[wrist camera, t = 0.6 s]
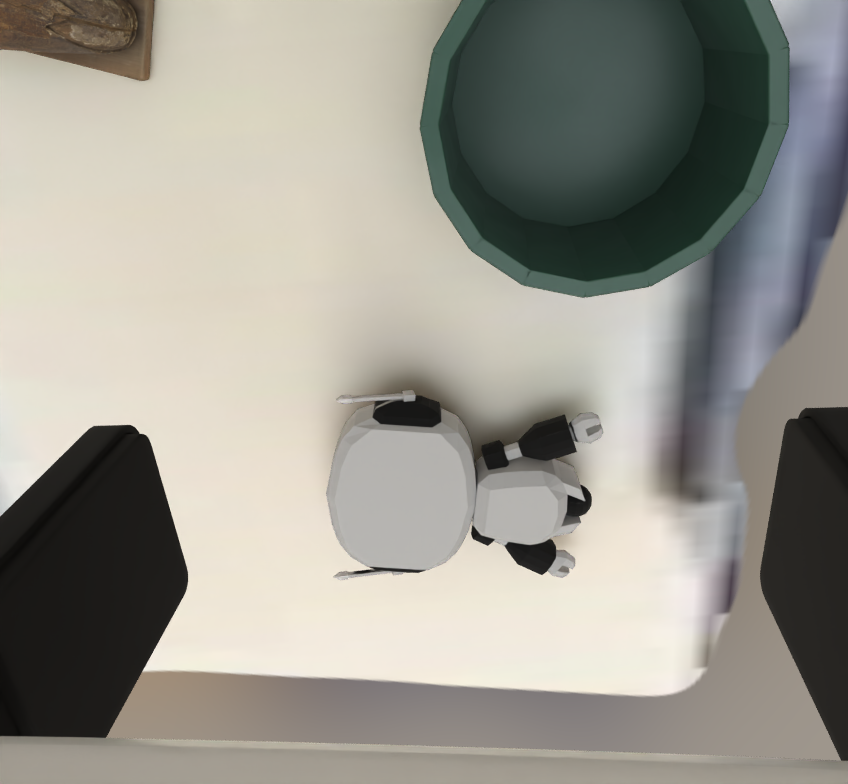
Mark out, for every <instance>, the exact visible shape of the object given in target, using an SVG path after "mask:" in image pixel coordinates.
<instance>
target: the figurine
mask: <svg viewBox="0 0 848 784" xmlns="http://www.w3.org/2000/svg"><path fill="white" fill-rule="evenodd" d="M153 11H154V0H0V49H4V50H17V51H26V52H30V53H34V54H38V55H42V56H45V57H49V58H53V59H57V60H61V61H66V62H69V63H73V64H77V65H81V66H85V67H89V68H93V69H97V70H101V71H105V72H109V73H113V74H117V75H121V76H125V77H129V78H133V79H136V80H140V81H145V80H148V79H149V74H150V59H151V42H152V27H153Z"/></svg>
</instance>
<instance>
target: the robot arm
mask: <svg viewBox="0 0 848 784" xmlns="http://www.w3.org/2000/svg"><path fill="white" fill-rule="evenodd" d="M760 580H761V587H762V591H763V594H764V597H765V599H766V601H767V603H768V605H769V608H770V610H771V612H772V614H773V616H774V618H775V620H776V623H777V625H778V627H779V629H780V631H781V633H782V635H783V637H784V640H785V642H786V644H787V646H788V648H789V650H790V652H791V655H792V657H793V659H794V661H795V663H796V665H797V667H798V669H799V671H800V674H801V676H802V678H803V680H804V682H805V684H806V686H807V689H808V691H809V693H810V695H811V697H812V699H813V701H814V703H815V705H816V708H817V710H818V712H819V714H820V716H821V718H822V720H823V722H824V725H825V727H826V729H827V731H828V733H829V735H830V737H831V740H832V742H833V744H834V746H835V748H836V750H837V752H838V754H839V757H840V759H841V761H836V760H835V761H834V760H811V759H789V758H767V757H749V756H719V755H690V754H689V755H688V754H661V753H629V752H602V751H573V750H543V749H513V748H512V749H511V748H478V747H444V746H408V745H375V744H339V743H302V742H266V741H222V740H221V741H220V740H178V739H175V740H174V739H173V740H172V739H133V738H129V739H128V738H106V737H107V735H108V733H109V731H110V729H111V727H112V726H113V724H114V722H115V720H116V718H117V716H118V715H119V713H120V711H121V709H122V707H123V706H124V703H125V702H126V700H127V698H128V696H129V694H130V693H131V691H132V689H133V687H134V685H135V684H136V682H137V680H138V678H139V676H140V675H141V673H142V671H143V669H144V667H145V666H146V664H147V662H148V660H149V658H150V656H151V655H152V653H153V651H154V649H155V647H156V646H157V644H158V642H159V640H160V638H161V636H162V635H163V633H164V631H165V629H166V627H167V625H168V624H169V622H170V620H171V618H172V616H173V615H174V613H175V611H176V609H177V607H178V605H179V604H180V602H181V600H182V598H183V596H184V594H185V592H186V589H187V584H188V571H187V567H186V563H185V560H184V556H183V553H182V549H181V546H180V543H179V539H178V536H177V532H176V529H175V525H174V522H173V518H172V515H171V512H170V508H169V505H168V501H167V498H166V494H165V491H164V487H163V484H162V480H161V477H160V474H159V470H158V467H157V463H156V460H155V456H154V453H153V449H152V446H151V443H150V440H149V439H148V437H147V436H146V435H144V434H139V432H138V430H137V429H136V428H135V427H133V426H132V425H113V426H93V427H92V428H90V429H89V430H88V431H87V432H85V433H84V434H83V435H82V436H81V437H80V438H79V439H78V440H77V441H76V442H75V443H74V444H73V445H72V446H71V447H70V448H69V449H68V450H67V451H66V452H65V453H64V454H63V455H62V456H61V457H60V458H59V459H58V460H57V461H56V462H55V463H54V464H53V465H52V466H51V467H50V468H49V469H48V470H47V471H46V472H45V473H44V474H43V475H42V476H41V477H40V478H39V479H38V480H37V481H36V482H35V483H34V484H33V485H32V486H31V487H30V488H29V489H28V490H27V491H26V492H25V493H24V494H23V495H22V496H21V497H20V498H19V499H18V500H17V501H16V502H15V503H14V504H13V505H12V506H11V507H10V508H9V509H8V510H6V511H5V512H4V513H3V514H2V515H1V516H0V784H848V407H836V408H805V409H804V410H803V411H802V412H801V413H800V415H799V418H798V419H790V420H788V421H787V423H786V426H785V429H784V435H783V441H782V446H781V453H780V458H779V464H778V470H777V476H776V482H775V488H774V493H773V499H772V505H771V511H770V517H769V523H768V528H767V534H766V540H765V546H764V552H763V558H762V564H761V571H760Z"/></svg>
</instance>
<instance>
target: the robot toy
mask: <svg viewBox="0 0 848 784" xmlns="http://www.w3.org/2000/svg"><path fill="white" fill-rule="evenodd" d="M336 401H338V402H340V403H342V404H348V403H352V402H362V401H376V402H375V404H372V405H369V406H366V407H363V408H360V409H357V410H356V411H355V412H354V414H353V415H352V416H351V417H350V418H349V419H348V420H347V421H346V423H345V425H344V427H343V429H342V431H341V434H340V437H339V439H338V442H337V445H336V449H335V454H334V458H333V462H332V467H331V472H330V477H329V482H328V487H327V492H326V494H327V500H328V505H329V510H330V516H331V521H332V525H333V528H334V531H335V534H336V537H337V539H338V541H339V543H340V545H341V546H342V547H343V548H344V550H345V551H346V552H347V553H348V554H349V555H350V557H352V558H353V559H355V560H357V561H359V562H360V563H362V564H364V565H365V566H368V567H370V568H372V569H371V570H362V571H354V572H347V571H344V572H339V573H337V574H336V575H335V576H334V577H335V578H337V579H339V580H345V579H348V578H352V577H360V576H368V575H377V574H385V573H393V575H398V574H403V572H406V573H419V572H422V571H425V570H429V569H432V568H434V567H436V566H439V565H441V564H443V563H445V562H446V561H447V560H449V559H450V558H451V557H452V556H453V555H454V554H455V553H456V552H457V551H458V549H459V548H460V546H461V545H462V543H463V541H464V539H465V537H466V535H467V533H468V530H469V527H470V524H471V521H472V518H473V526H472V532H471V535H472V538H473V539H474V540H476V541H479V542H481V543H483V544H485V545H487V546H488V545H489V544H491V543H492V542H493V541H495V542H497V543H499V544H502V545H504V546H505V548H506V549H507V551H508V552H509V553H510V555H511V556H512V557H513V559H514V560H515V561H516V563H517V564H519V565H521V566H523V567H525V568H527V569H530V570H532V571H534V572H536V573H538V574H541V575H543V574H544V573H545V572H547V571H548V572H549V573H550V574H551V575H552V576H556V577H561V578H563V577H565V576H567V575H568V574H569V568H571V569H573V568H574V566H575V558H574V557H573V556H572V555H570V554H569V553H568V552H566V551H565V550H556V546H555V544H554V542H553V541H552V540H550V538H552V537H555V536H559V535H564V534H568V533H572V532H573V531H574V530H575V528H576V527H577V526H578V525H579V524H580V523H581V521H580V518H579V516H581V515H584V514H586V512H587V511H588V510H589V509H590V507H591V502H592V497H591V494H590V492H589V491H588V489H587V488H585V487H584V486H583V485H580V483H579V480H578V477H577V474H576V472H575V469H574V467H573V466H571V465H568V464H566V463H563V462H561V461H558V460H556V459H555V458H558V457H562V456H565V455H568V454H571V453H575V452H577V451H576V448H575V445H574V442H573V441H575V442H582V443H592V442H594V441H596V440H597V439H599V438H601V436H602V434H603V429H602V427H601V423H600V420H599V417H598V415H596V414H594V413H593V412H590V413H581V414H579V415H578V416H577V417H576V418H575V419H573V420H572V421H571V422H570V423H569V425H568V424H567V421H566V418H565V415H562V416H559V417H556V418H552V419H549V420H546V421H543V422H540V423H537V424H534V425H533V426H532V427H531V428H530V429H529V430H528V431H527V432H526V433H525V434H524V435H523V437H522V438H521V439H520V440H519V441H518V442H515V443H512V444H509V445H506V446H504V445H503V443H502V442H501V441H499V440H498V441H495V442H492V443H489V444H486V445H483V446H482V454H483V456H482V457H480V458H479V459H478V460H477V461H476V466H475V465H474V454H473V449H472V444H471V440H470V436H469V434H468V431H467V429H466V427H465V426H464V425H463V423H462V422H461V420H460V419H459V417H458V416H457V415H455V414H453V413H451V412H449V411H446V410H444V409H442V408H441V407H440V403H439V402H437V401H434V400H431V399H428V398H426V397H423V396H416V395H415V393H414V391H413V390H408V391H402V393H400V394H383V395H365V396H351V395H345V396H341V397H339V398H338V399H336ZM597 424H598V425H597Z"/></svg>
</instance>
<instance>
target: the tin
mask: <svg viewBox="0 0 848 784" xmlns="http://www.w3.org/2000/svg"><path fill="white" fill-rule="evenodd" d="M788 46H789V43H788V41H787V38H786V36H785V34H784V31H783V29H782V27H781V24H780V22H779V20H778V18H777V15H776V13H775V11H774V8H773V6H772V4H771V1H770V0H462V1H461V3H460V5H459V6H458V8H457V10H456V11H455V13H454V15H453V16H452V18H451V20H450V22H449V23H448V25H447V27H446V28H445V30H444V32H443V34H442V35H441V37H440V39H439V40H438V42H437V44H436V45H435V47H434V49H433V53H432V56H431V62H430V68H429V74H428V79H427V85H426V91H425V97H424V103H423V109H422V115H421V121H420V131H421V136H422V141H423V146H424V151H425V156H426V161H427V166H428V170H429V175H430V180H431V185H432V190H433V194H434V196H435V198H436V200H437V201H438V203H439V204H440V206H441V207H442V209H443V210H444V212H445V213H446V215H447V216H448V218H449V219H450V221H451V222H452V224H453V225H454V227H455V228H456V230H457V231H458V233H459V234H460V236H461V237H462V239H463V240H464V242H465V243H466V245H467V246H468V248H469V249H471V251H472V252H473V253H475V254H476V255H478V256H479V257H481V258H482V259H484V260H485V261H487V262H488V263H490V264H491V265H493V266H494V267H496V268H497V269H499V270H500V271H502V272H503V273H505V274H506V275H508V276H509V277H511V278H512V279H514V280H515V281H517V282H518V283H520V284H521V285H524V286H528V287H533V288H538V289H543V290H548V291H553V292H558V293H563V294H567V295H572V296H577V297H582V298H584V297H592V296H598V295H604V294H610V293H616V292H622V291H628V290H634V289H639V288H645V287H649V286H652V285H654V284H656V283H658V282H660V281H661V280H663V279H665V278H667V277H668V276H670V275H672V274H674V273H675V272H677V271H679V270H681V269H683V268H684V267H686V266H688V265H690V264H691V263H693V262H695V261H697V260H698V259H700V258H702V257H704V256H706V255H707V254H709V253H710V251H713V250H714V248H715V247H716V246H717V245H718V244H719V243H720V242H721V240H722V239H723V238H724V237H725V236H726V235H727V234H728V232H729V231H730V230H731V229H732V228H733V227H734V226H735V225H736V223H737V222H738V221H739V220H740V219H741V218H742V217H743V215H744V214H745V213H746V212H747V211H748V210H749V209H750V207H751V206H752V205H753V204H754V203H755V202H756V201H757V199H758V198H759V196H761V194H762V191H763V189H764V186H765V184H766V181H767V179H768V176H769V174H770V171H771V169H772V166H773V164H774V161H775V159H776V156H777V154H778V151H779V149H780V146H781V144H782V141H783V139H784V136H785V134H786V131H787V129H788V126H789V125H788V123H789V47H788Z"/></svg>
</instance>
